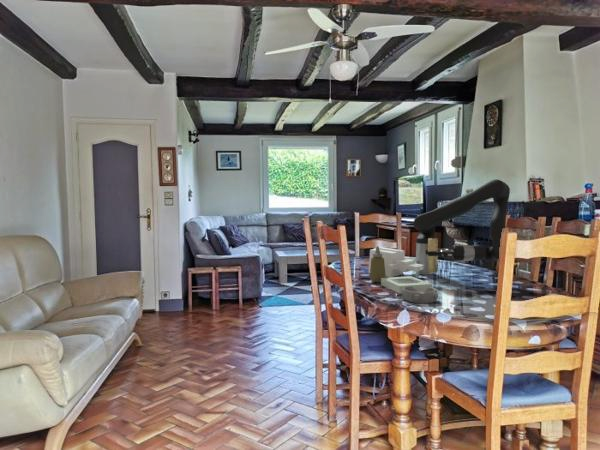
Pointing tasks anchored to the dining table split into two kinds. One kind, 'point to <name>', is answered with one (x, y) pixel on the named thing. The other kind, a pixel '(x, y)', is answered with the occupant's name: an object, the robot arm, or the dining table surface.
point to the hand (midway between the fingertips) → (427, 252)
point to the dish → (419, 295)
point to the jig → (404, 283)
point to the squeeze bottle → (377, 266)
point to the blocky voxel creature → (395, 262)
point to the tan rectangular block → (432, 259)
